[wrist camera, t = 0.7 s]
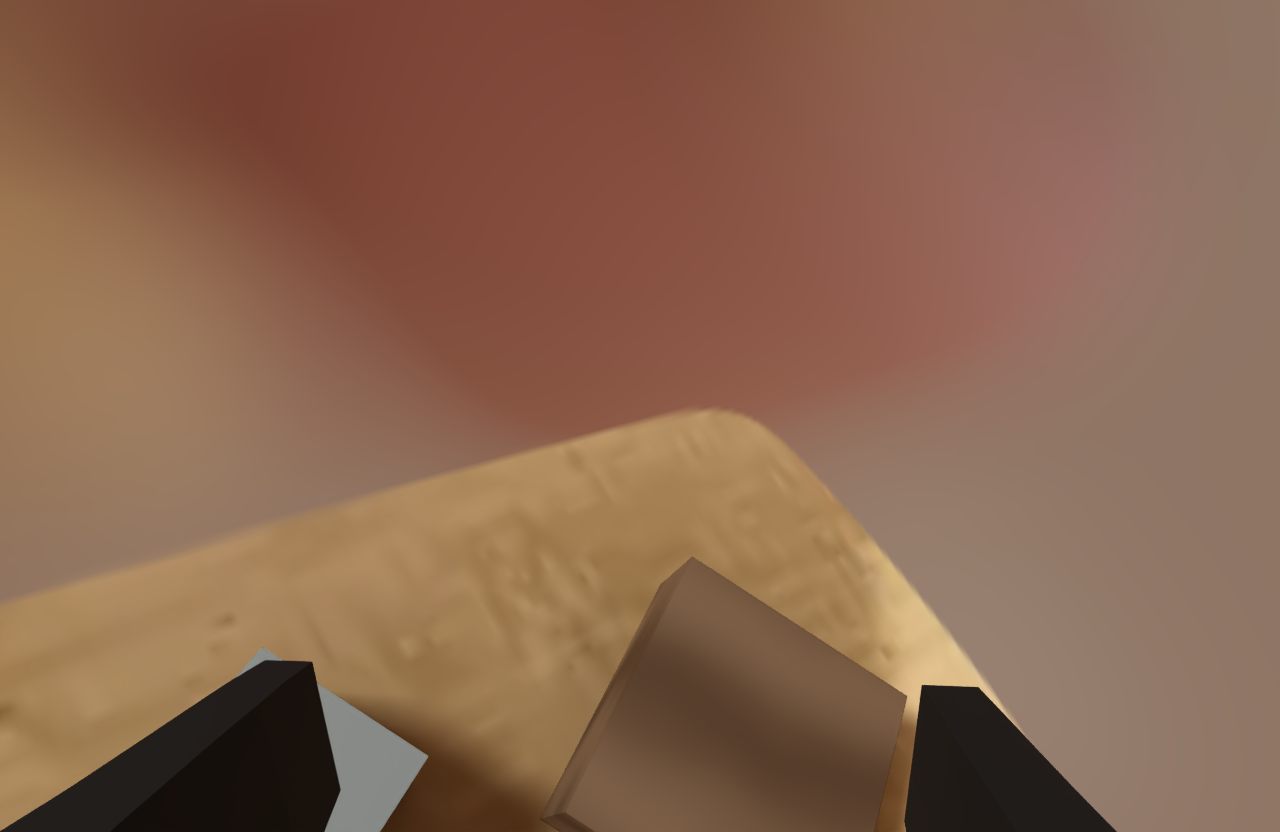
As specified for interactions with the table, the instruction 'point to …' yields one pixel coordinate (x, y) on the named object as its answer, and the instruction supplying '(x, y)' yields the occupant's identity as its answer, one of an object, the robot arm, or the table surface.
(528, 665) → the table surface
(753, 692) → the walnut block
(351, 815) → the grey cube
